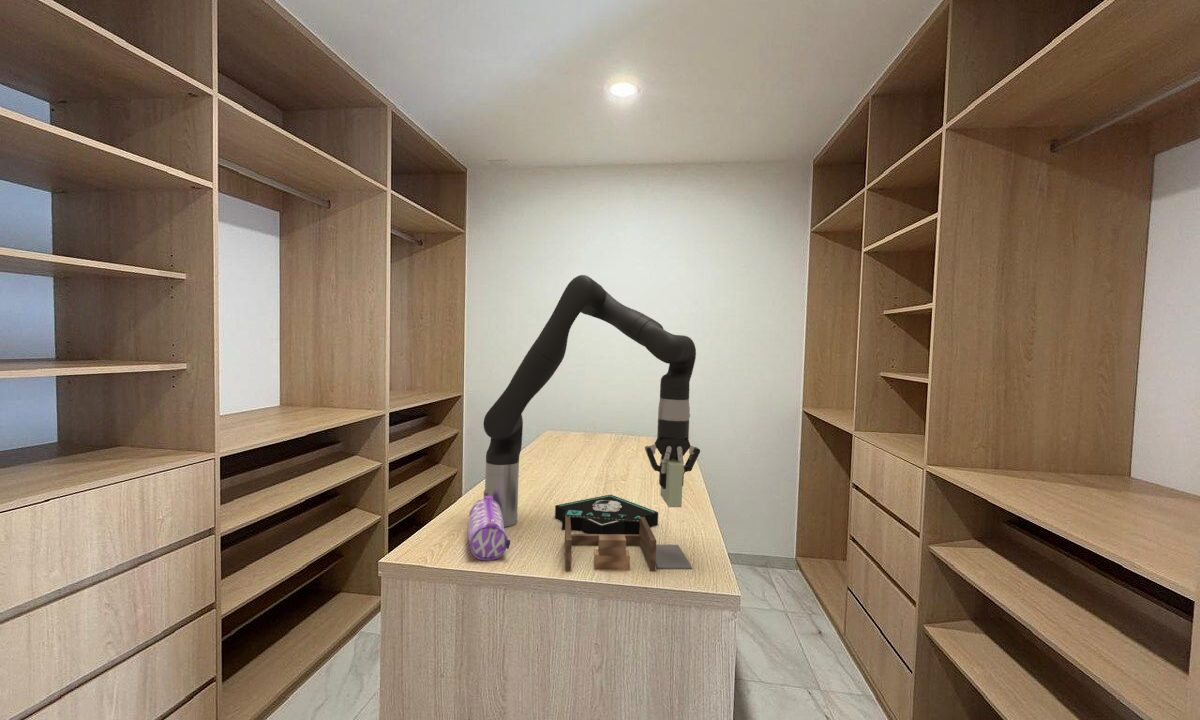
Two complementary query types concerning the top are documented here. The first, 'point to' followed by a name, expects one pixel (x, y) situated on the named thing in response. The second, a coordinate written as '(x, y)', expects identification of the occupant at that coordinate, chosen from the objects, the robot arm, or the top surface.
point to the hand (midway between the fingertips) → (670, 487)
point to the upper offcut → (612, 545)
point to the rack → (642, 539)
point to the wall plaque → (605, 515)
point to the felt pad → (671, 557)
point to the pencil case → (487, 530)
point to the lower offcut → (611, 561)
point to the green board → (673, 484)
